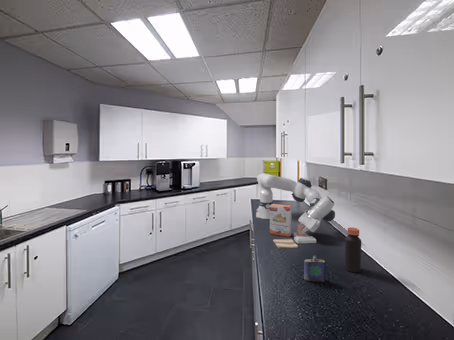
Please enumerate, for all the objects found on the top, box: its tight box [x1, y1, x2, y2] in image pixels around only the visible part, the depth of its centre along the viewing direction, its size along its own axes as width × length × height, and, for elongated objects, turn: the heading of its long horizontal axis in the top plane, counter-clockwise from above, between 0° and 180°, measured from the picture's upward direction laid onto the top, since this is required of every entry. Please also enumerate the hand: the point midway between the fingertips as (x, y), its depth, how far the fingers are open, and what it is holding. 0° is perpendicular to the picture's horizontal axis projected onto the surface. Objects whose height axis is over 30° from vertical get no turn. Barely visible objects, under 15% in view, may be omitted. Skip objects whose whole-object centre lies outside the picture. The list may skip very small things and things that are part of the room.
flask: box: [303, 255, 327, 282], centre depth 98 cm, size 9×3×11 cm, turn 83°
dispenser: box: [293, 232, 317, 245], centre depth 144 cm, size 14×12×2 cm
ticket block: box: [296, 224, 306, 236], centre depth 147 cm, size 4×4×8 cm
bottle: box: [344, 227, 362, 274], centre depth 105 cm, size 7×7×20 cm
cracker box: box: [269, 203, 292, 238], centre depth 153 cm, size 14×6×21 cm, turn 62°
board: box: [272, 238, 299, 250], centre depth 137 cm, size 12×12×1 cm
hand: (300, 231), depth 147 cm, fingers closed on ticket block, 4 cm apart
